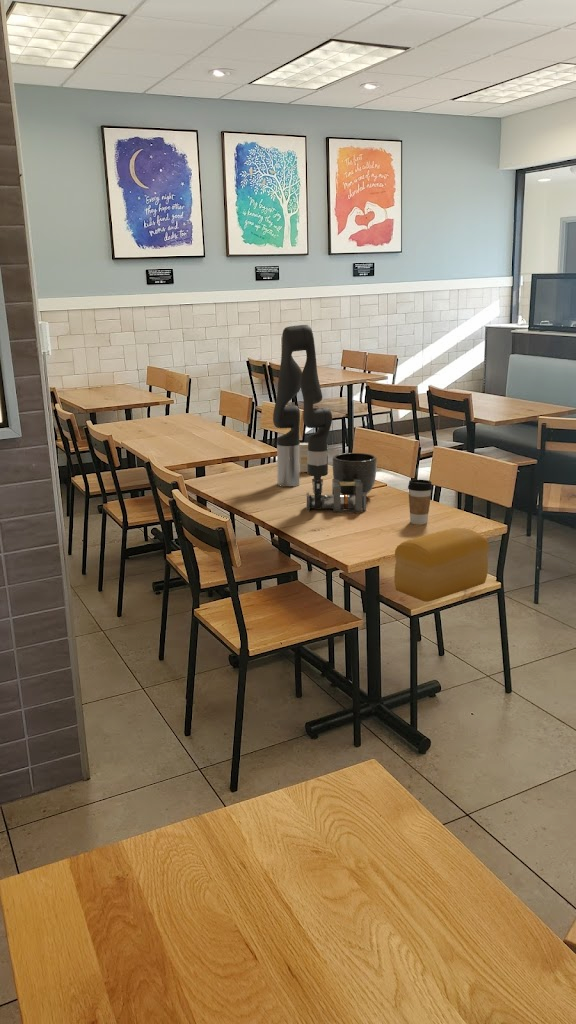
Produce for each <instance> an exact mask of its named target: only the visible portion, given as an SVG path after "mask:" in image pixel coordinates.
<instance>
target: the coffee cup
mask: <svg viewBox="0 0 576 1024" xmlns="http://www.w3.org/2000/svg"><path fill="white" fill-rule="evenodd" d="M407 489H408V506H409V521H410V523H411V524H412V525H417V526H418V525H419V526H421V525H422V526H423V525H426V524H428V521H429V520H428V519H429V512H430V506H431V505H430V504H431V499H432V497H431V496H432V494H431V493H432V490H433V483H432V481H431V480H427V479H411V480H409V481H408V485H407Z"/></svg>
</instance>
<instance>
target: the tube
mask: <svg viewBox="0 0 576 1024" xmlns="http://www.w3.org/2000/svg"><path fill="white" fill-rule="evenodd" d="M314 496H315V494H310V492H306V511H307V512H310V509H315V498H314ZM321 496H322V498H321V508H320V509H334V495H332V494H321ZM340 509H355V495H342V494H341V505H340ZM363 511H367V494H366V493H365V492H363V497H362V512H363Z"/></svg>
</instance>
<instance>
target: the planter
mask: <svg viewBox="0 0 576 1024" xmlns="http://www.w3.org/2000/svg"><path fill="white" fill-rule="evenodd" d="M377 461H378V460H377V455H374V454H369V453H364V452H363V453H361V452H348V453H347V452H345V453H344V452H343V453H338V454H335V455H333V456H332V479H339V482H354V479H360V480H361V483H362V486H363V492H365V493H366V495H368V494H369V493H370V492H371V491H372V489H373V488H374V485H375V482H376V476H377ZM341 495H353V486H341Z"/></svg>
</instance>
